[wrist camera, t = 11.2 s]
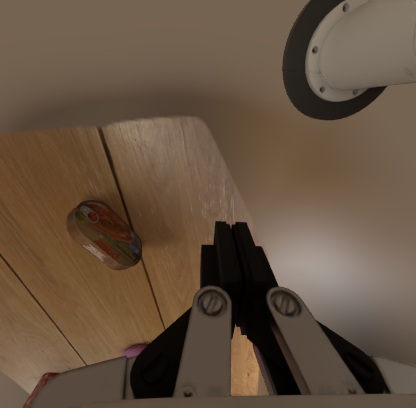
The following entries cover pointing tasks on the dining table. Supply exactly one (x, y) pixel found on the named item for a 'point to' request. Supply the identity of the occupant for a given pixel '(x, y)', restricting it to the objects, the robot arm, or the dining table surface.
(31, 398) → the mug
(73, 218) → the tin
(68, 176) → the dining table surface
